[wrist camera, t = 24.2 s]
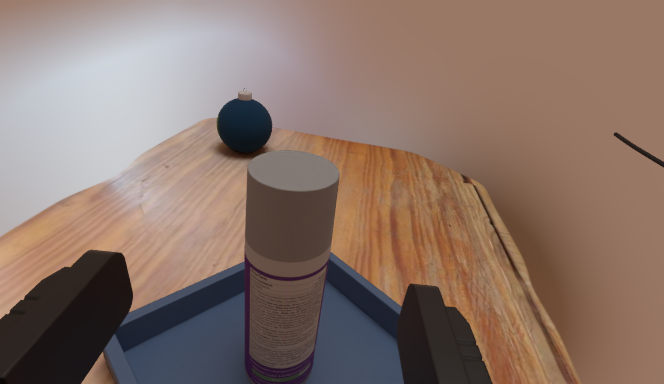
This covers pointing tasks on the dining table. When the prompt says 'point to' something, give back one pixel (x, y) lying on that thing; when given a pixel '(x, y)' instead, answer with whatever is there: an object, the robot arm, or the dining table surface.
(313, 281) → the container
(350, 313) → the tray
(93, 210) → the dining table surface
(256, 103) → the christmas ornament
